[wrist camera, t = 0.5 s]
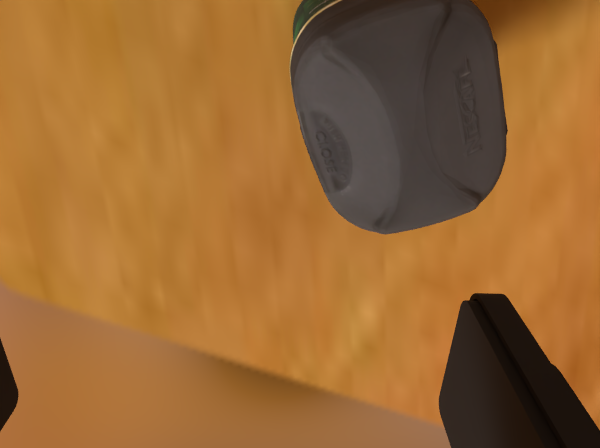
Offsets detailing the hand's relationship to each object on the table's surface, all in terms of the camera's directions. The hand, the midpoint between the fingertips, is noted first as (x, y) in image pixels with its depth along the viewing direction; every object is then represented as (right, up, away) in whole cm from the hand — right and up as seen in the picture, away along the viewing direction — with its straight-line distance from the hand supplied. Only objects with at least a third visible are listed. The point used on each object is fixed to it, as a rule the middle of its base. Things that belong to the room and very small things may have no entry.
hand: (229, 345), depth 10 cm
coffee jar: (+5, +14, +24) cm, 28 cm away
